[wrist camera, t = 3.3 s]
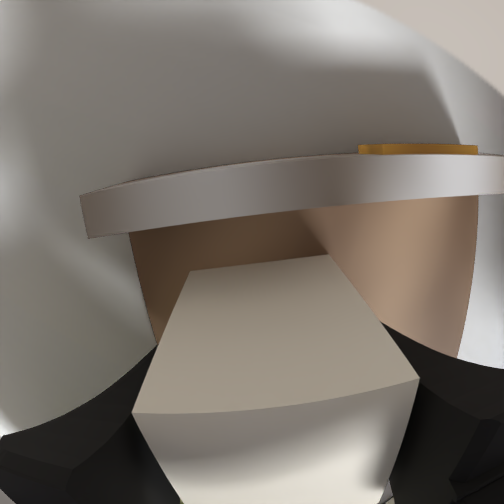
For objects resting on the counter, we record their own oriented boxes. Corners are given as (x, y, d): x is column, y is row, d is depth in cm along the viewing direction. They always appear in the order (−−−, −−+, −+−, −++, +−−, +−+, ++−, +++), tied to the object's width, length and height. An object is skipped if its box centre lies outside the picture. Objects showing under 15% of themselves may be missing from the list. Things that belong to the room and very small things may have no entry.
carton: (328, 254, 11) (419, 377, 5) (330, 364, 13) (378, 502, 6) (183, 271, 11) (119, 411, 5) (208, 379, 13) (190, 523, 6)
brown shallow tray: (463, 145, 11) (526, 149, 7) (444, 362, 14) (479, 407, 11) (128, 173, 11) (77, 184, 7) (185, 405, 15) (173, 465, 11)
